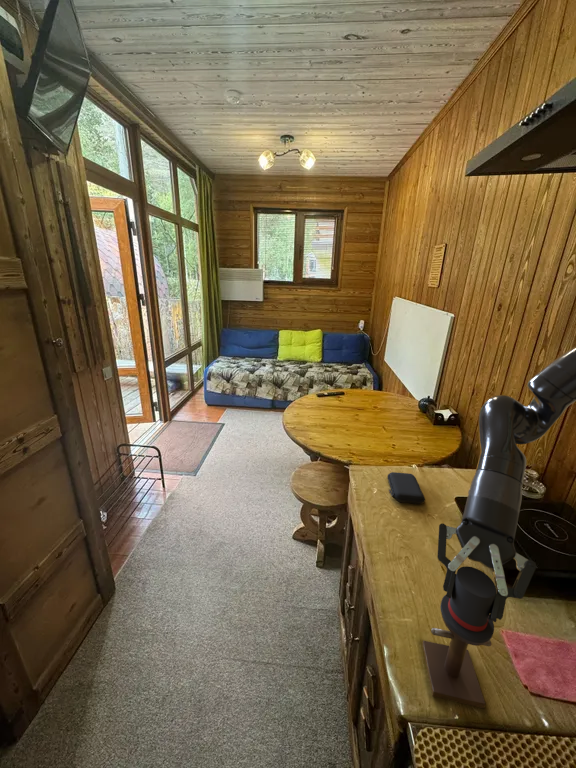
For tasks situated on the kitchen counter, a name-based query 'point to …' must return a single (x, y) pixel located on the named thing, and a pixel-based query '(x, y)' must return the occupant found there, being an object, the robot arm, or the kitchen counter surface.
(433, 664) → the coat stand
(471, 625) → the hat
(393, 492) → the carrying case
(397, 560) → the kitchen counter surface
